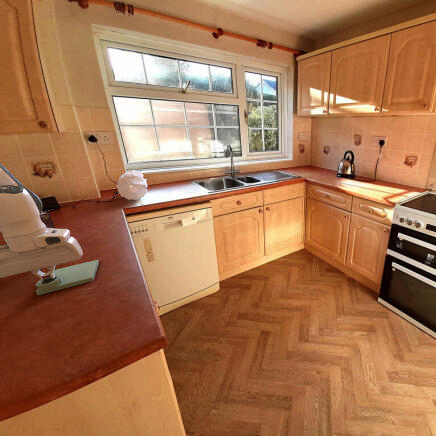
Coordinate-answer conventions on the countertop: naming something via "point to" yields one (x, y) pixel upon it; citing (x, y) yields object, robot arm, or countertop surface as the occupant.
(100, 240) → the countertop surface
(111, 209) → the countertop surface
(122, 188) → the crumpled paper ball
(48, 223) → the supplement box
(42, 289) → the scale
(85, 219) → the countertop surface
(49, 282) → the tare button
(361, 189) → the countertop surface
